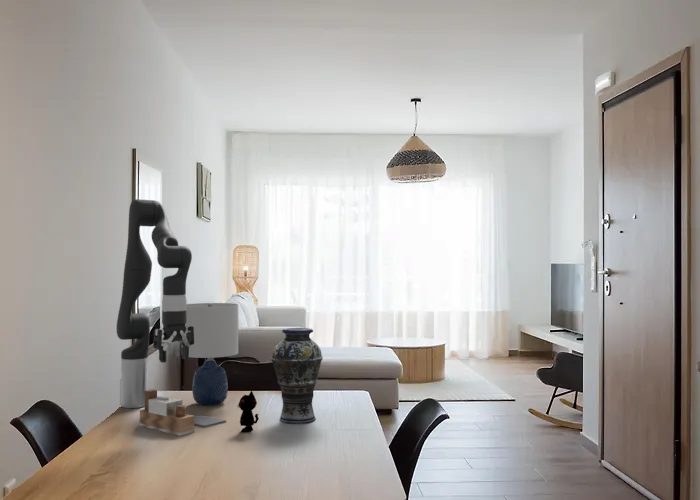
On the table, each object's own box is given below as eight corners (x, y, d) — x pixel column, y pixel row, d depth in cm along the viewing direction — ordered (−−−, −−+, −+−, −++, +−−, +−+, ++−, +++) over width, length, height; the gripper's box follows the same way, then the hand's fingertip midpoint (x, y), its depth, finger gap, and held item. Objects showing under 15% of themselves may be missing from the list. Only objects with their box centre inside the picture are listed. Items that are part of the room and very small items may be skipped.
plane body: (139, 425, 222) (139, 391, 222) (154, 422, 226) (154, 388, 226) (179, 435, 210) (179, 399, 210) (194, 432, 214) (194, 396, 214)
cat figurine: (241, 427, 219) (241, 389, 220) (262, 428, 218) (262, 390, 218) (233, 433, 213) (233, 393, 213) (254, 434, 211) (254, 394, 211)
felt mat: (180, 421, 227) (180, 420, 227) (201, 416, 234) (201, 415, 234) (204, 427, 220) (204, 425, 220) (226, 422, 227) (226, 420, 227)
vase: (261, 423, 225) (261, 330, 225) (286, 412, 241) (286, 325, 241) (308, 428, 219) (308, 332, 219) (330, 416, 235) (330, 327, 235)
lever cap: (148, 412, 219) (148, 397, 219) (164, 409, 223) (164, 394, 223) (166, 416, 213) (166, 401, 213) (182, 412, 218) (182, 398, 218)
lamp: (232, 410, 245) (232, 305, 245) (175, 409, 245) (175, 305, 245) (242, 398, 265) (242, 301, 265) (189, 398, 265) (189, 301, 266)
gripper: (184, 307, 228) (184, 357, 228) (148, 310, 216) (147, 362, 216) (199, 308, 223) (199, 359, 223) (163, 311, 212) (163, 364, 212)
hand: (174, 360), depth 220 cm, fingers open, 8 cm apart
